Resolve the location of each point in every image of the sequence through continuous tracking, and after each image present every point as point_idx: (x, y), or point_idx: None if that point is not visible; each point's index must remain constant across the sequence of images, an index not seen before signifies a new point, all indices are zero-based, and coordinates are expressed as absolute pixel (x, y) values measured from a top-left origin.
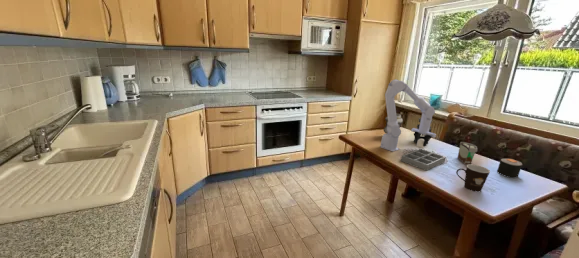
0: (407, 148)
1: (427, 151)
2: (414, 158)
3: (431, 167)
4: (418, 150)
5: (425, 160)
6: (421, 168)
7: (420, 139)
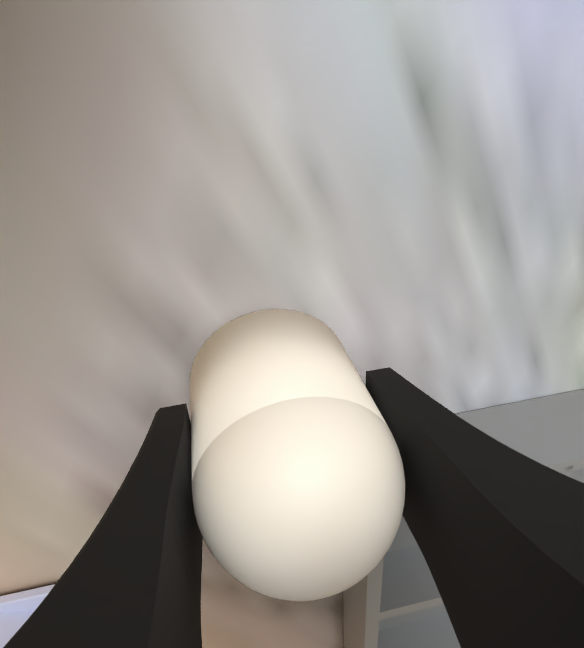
0: (82, 441)
1: None
2: (425, 638)
3: None
4: (381, 563)
5: None
6: None
7: (307, 599)
